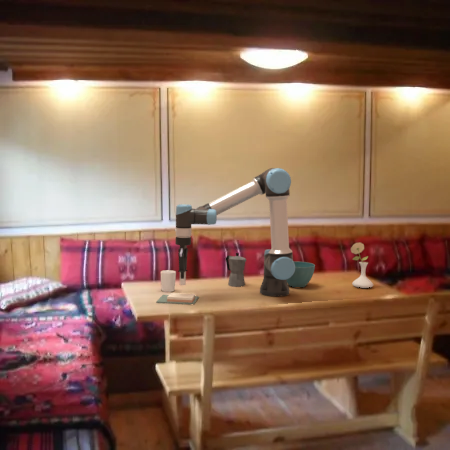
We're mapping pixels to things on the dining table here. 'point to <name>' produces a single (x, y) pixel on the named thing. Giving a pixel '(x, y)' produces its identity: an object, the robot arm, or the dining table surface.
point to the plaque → (180, 297)
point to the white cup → (168, 280)
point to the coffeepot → (236, 270)
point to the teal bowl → (301, 274)
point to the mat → (164, 300)
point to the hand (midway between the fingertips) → (182, 284)
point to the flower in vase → (362, 280)
